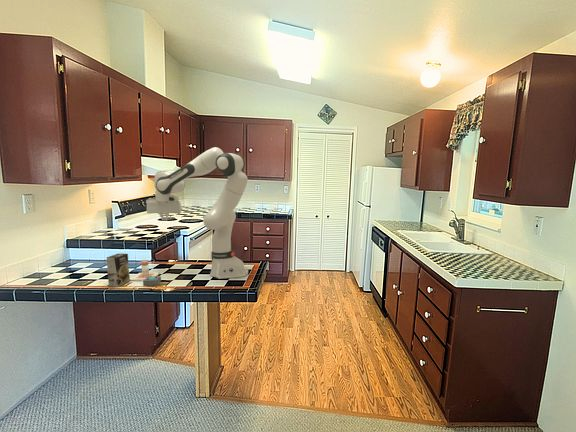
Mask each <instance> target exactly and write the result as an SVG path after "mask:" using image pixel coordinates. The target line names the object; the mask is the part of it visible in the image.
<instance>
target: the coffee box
mask: <svg viewBox="0 0 576 432" xmlns="http://www.w3.org/2000/svg"><path fill="white" fill-rule="evenodd" d="M106 266H107V267H106V268H107V269H106V270H107V279H108V287H117V288H119V287H121V286H123V285H125V284H127V283H129V282H131V281H130V280H131V279H130V278H131V277H130V267H129V254H128V253H116V254H112V255H109V256H107V257H106Z"/></svg>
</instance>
